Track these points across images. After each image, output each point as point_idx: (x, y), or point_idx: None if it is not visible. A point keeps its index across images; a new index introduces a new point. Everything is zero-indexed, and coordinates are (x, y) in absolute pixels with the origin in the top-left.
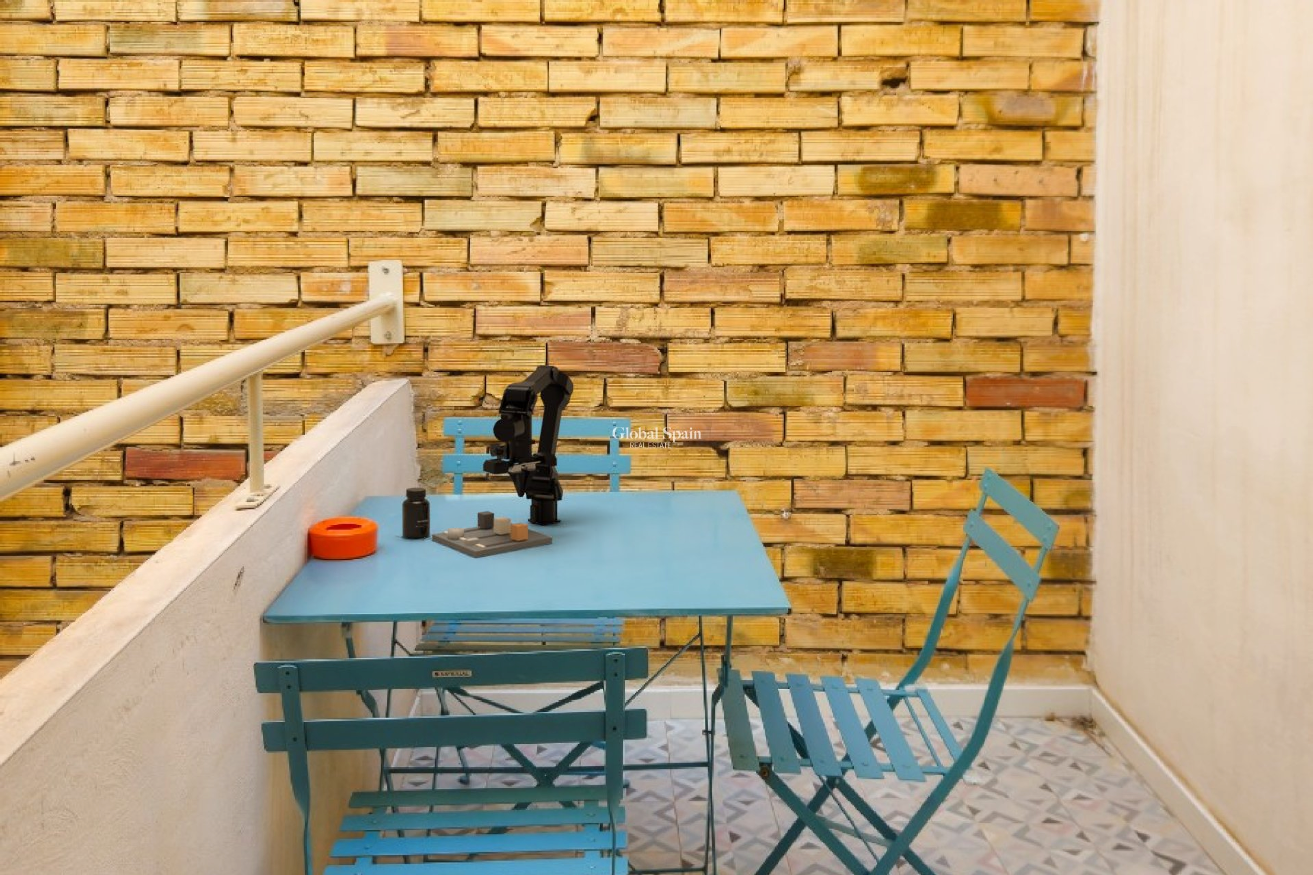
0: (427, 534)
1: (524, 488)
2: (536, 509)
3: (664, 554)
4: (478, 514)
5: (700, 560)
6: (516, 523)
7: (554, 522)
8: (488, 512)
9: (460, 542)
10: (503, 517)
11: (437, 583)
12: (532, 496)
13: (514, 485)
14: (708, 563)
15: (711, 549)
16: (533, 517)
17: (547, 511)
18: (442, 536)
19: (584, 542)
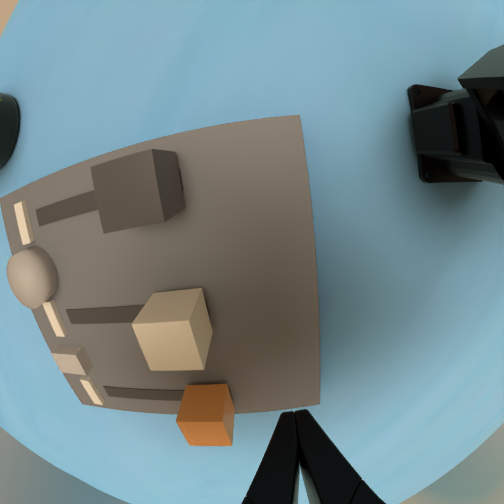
0: (2, 161)
1: (307, 492)
2: (451, 155)
3: (410, 464)
4: (95, 177)
5: (412, 478)
6: (201, 422)
7: (464, 181)
8: (142, 187)
9: (49, 324)
10: (181, 331)
11: (46, 434)
12: (487, 95)
13: (250, 487)
14: (407, 484)
15: (461, 447)
16: (423, 137)
17: (475, 178)
18: (14, 236)
19: (385, 402)
